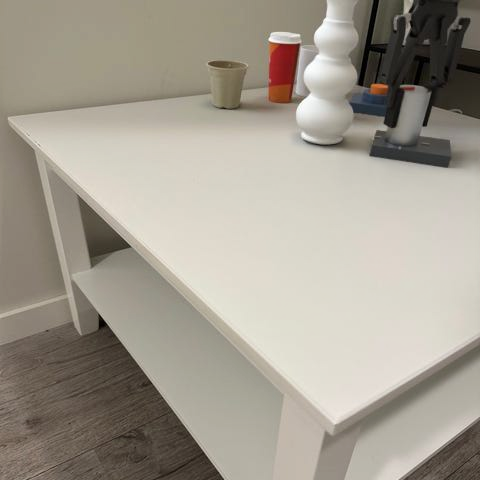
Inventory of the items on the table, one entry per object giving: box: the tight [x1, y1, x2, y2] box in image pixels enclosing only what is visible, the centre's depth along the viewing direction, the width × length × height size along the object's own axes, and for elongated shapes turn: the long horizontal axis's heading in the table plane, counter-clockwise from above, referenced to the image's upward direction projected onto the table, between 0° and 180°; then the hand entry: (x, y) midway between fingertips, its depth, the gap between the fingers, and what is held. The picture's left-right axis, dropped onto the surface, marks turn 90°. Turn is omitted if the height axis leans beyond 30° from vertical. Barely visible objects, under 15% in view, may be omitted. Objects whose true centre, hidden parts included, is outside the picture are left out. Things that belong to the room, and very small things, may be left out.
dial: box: [385, 84, 432, 146], centre depth 87 cm, size 6×6×9 cm
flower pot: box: [205, 59, 250, 110], centre depth 108 cm, size 9×9×9 cm
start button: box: [370, 83, 388, 95], centre depth 111 cm, size 4×4×2 cm
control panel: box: [369, 129, 453, 168], centre depth 90 cm, size 14×10×2 cm
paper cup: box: [267, 31, 303, 104], centre depth 113 cm, size 8×8×14 cm
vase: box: [295, 0, 360, 146], centre depth 87 cm, size 11×11×25 cm
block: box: [348, 88, 387, 118], centre depth 113 cm, size 12×10×4 cm
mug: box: [295, 44, 319, 98], centre depth 120 cm, size 12×8×10 cm, turn 86°
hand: (405, 124), depth 88 cm, fingers closed on dial, 6 cm apart
